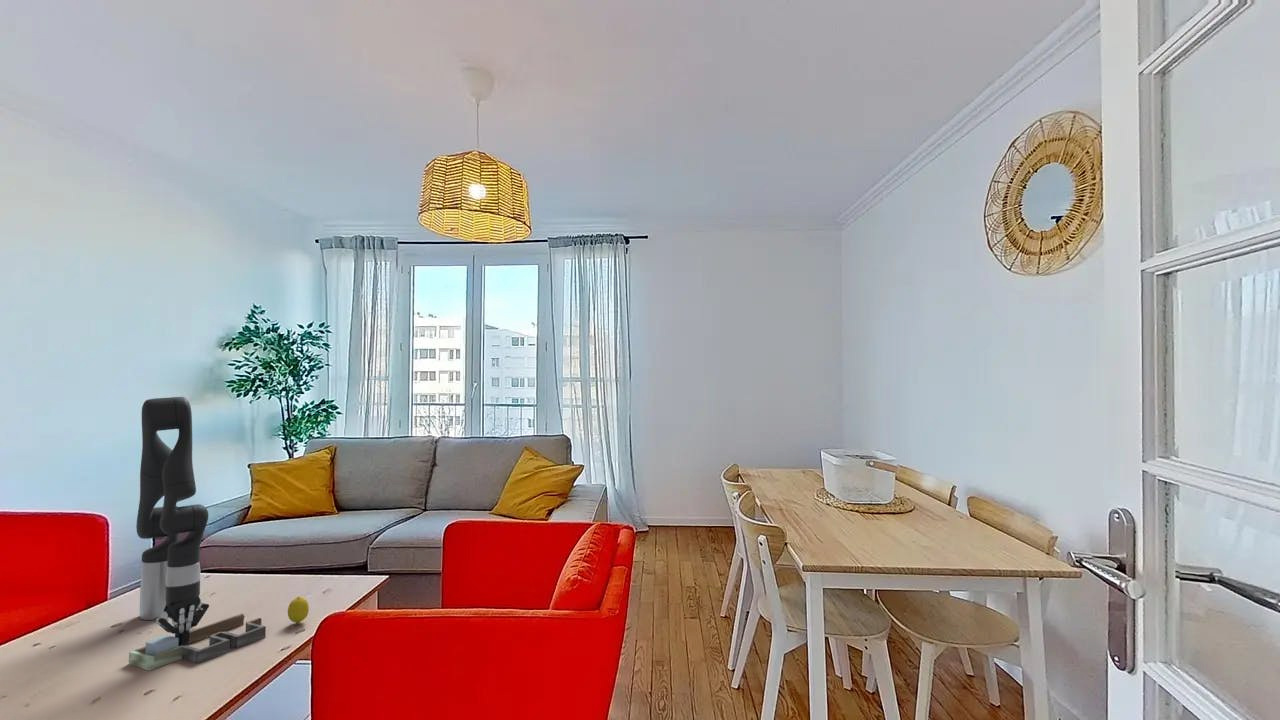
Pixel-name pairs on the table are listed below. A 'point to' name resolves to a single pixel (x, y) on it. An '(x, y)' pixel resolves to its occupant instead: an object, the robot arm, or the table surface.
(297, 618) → the lemon
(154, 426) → the robot arm
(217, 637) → the trap box
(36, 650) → the table surface
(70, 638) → the table surface
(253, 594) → the table surface
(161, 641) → the block
